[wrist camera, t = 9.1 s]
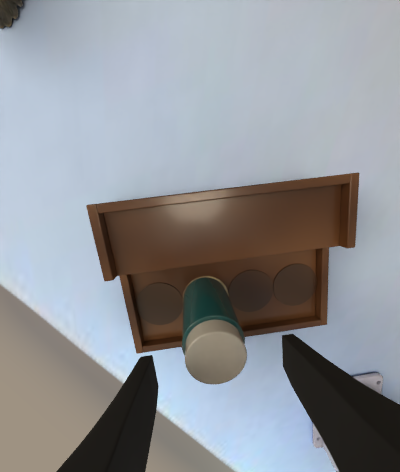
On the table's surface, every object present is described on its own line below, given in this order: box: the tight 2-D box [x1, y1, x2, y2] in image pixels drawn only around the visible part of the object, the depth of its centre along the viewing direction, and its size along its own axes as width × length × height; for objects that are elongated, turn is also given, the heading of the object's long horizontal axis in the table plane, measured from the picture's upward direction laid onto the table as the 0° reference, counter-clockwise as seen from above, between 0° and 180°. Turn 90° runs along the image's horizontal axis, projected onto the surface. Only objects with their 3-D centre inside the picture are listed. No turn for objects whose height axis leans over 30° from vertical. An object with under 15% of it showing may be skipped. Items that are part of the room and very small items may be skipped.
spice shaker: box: [182, 277, 247, 384], centre depth 14 cm, size 4×4×6 cm
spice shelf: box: [87, 173, 359, 353], centre depth 16 cm, size 13×17×5 cm
